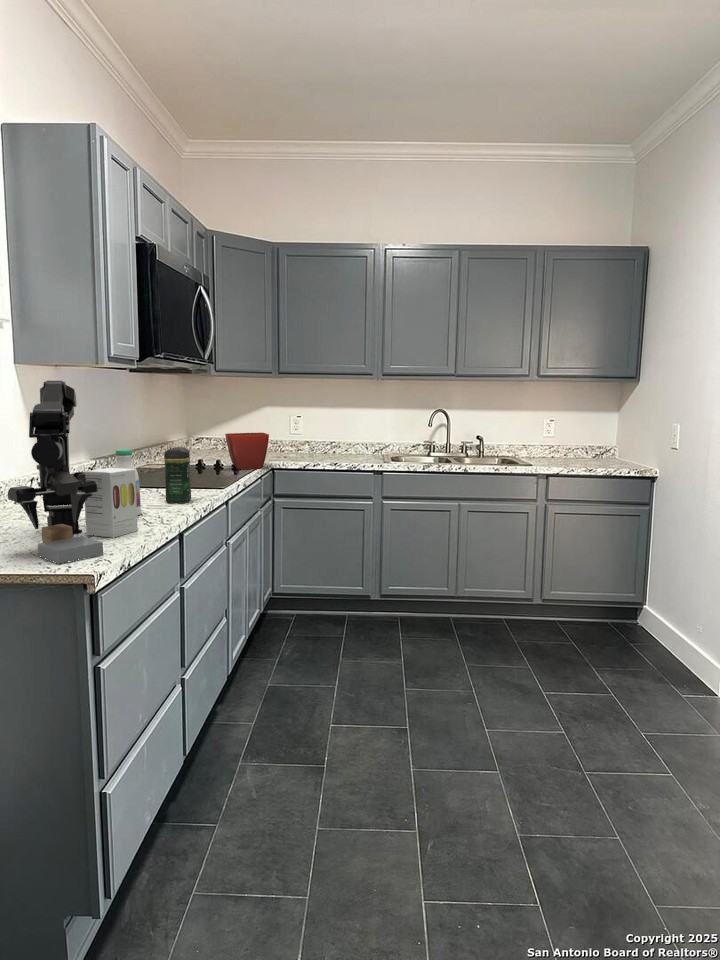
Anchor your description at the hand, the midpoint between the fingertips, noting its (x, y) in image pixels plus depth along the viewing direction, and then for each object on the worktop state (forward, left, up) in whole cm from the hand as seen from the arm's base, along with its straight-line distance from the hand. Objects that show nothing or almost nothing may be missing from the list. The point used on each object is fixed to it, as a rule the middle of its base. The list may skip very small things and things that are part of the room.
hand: (56, 525), depth 150 cm
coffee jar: (-55, -32, -5) cm, 64 cm away
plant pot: (-132, -89, -5) cm, 160 cm away
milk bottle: (-31, -23, -5) cm, 39 cm away
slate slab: (+2, +11, -5) cm, 12 cm away
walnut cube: (0, 0, -5) cm, 5 cm away
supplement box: (-16, -4, -5) cm, 17 cm away
